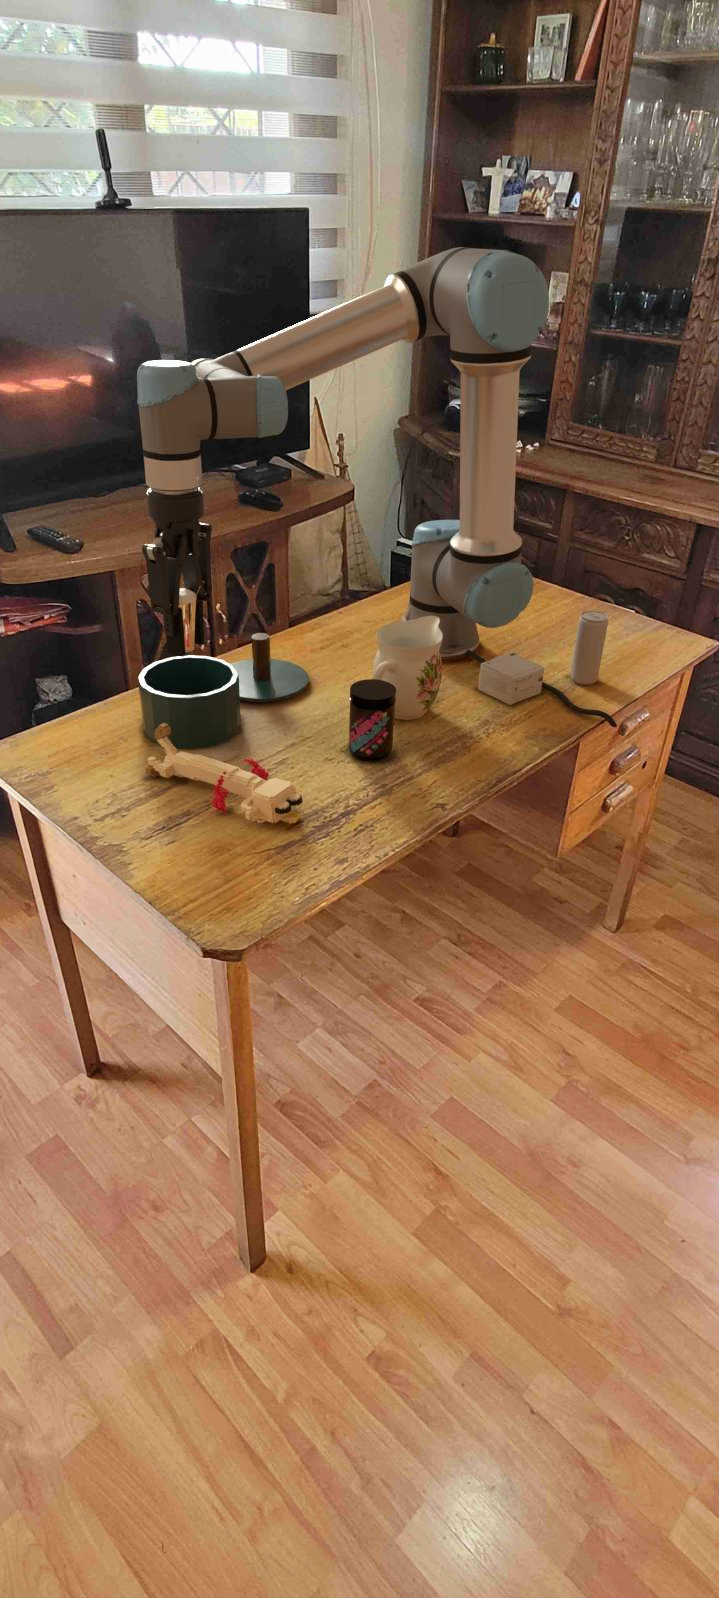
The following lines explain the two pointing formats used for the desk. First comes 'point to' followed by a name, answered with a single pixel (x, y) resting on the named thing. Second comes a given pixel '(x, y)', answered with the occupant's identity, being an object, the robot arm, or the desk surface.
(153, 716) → the tin
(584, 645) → the beverage can
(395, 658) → the pitcher
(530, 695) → the small box
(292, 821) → the blocky axolotl figure
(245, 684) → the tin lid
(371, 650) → the desk surface
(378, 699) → the supplement container
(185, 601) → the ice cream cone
